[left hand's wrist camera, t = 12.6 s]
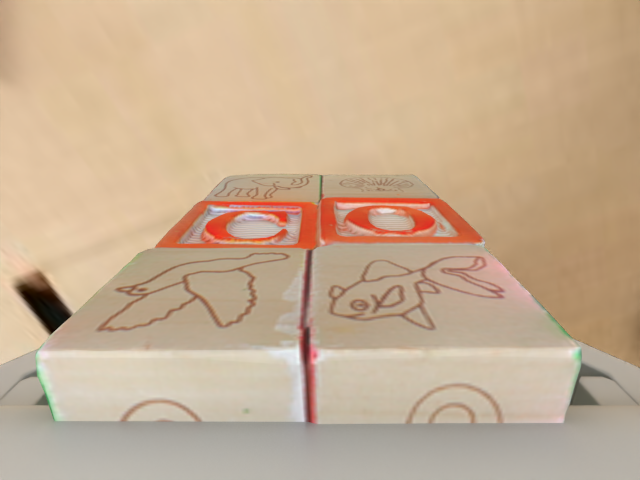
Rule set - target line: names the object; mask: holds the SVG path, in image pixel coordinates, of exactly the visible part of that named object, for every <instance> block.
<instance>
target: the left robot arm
mask: <svg viewBox="0 0 640 480" xmlns="http://www.w3.org/2000/svg"><path fill="white" fill-rule="evenodd" d="M574 340H575V339H574ZM575 341H576V342H577V343H578V344H579V345H580V346H581V351H582V360H581V368H580V371H579V374H578V377H577V380H576V383H575V387H574V390H573V394H572V397H571V401H570V404H569V407H568V409H567V412H566V414H565V421H564V423H418V424H315V423H310V422H167V421H55V420H54V419H53V416H52V413H51V410H50V407H49V404H48V401H47V398H46V395H45V393H44V390H43V388H42V386H41V383H40V381H39V379H38V376H37V369H36V359H35V356H36V352H37V351H38V349H37V350H34V351H32V352H30V353H27V354H25V355H23V356H20V357H18V358H16V359H13V360H11V361H9V362H6V363H4V364H2V365H0V480H640V368H639V367H637V366H635V365H632V364H630V363H628V362H626V361H623V360H621V359H619V358H616V357H614V356H612V355H610V354H607V353H605V352H603V351H600V350H598V349H596V348H593V347H591V346H589V345H587V344H584V343H582V342H580V341H577V340H575Z"/></svg>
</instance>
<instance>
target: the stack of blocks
mask: <svg viewBox="0 0 640 480" xmlns="http://www.w3.org/2000/svg"><path fill="white" fill-rule="evenodd" d="M484 245H485V240H484V239H483V238H482V237H481V236H480V235H479V234H478V233H477V232H476V231H475V230H474V229H473V228H472V227H471V226H470V225H469V224H468V223H467V222H466V221H465V220H464V219H463V218H462V217H461V216H460V215H459V214H458V213H456V212H455V211H454V210H453V209H452V208H451V207H450V206H449V205H448V204H447V203H446V202H445V201H443V200H441V199H439V197H438V196H437V195H436V194H435V193H434V192H433V191H431V190H430V189H429V188H428V187H427V186H426V185H425V184H424V183H423V182H422V181H421V180H419V179H418V178H417V177H416V176H414V175H323V176H322V175H314V174H254V175H235V176H229V177H226V178H225V179H223V180H222V181H221V182H220V183H219V184H218V185H217V186H216V187H215V188H214V189H213V190H212V192H211V193H210V194H209V195H208V196H207V197H206V198H205V199H204V200H203V201H201V202H199V203H197V204H196V205H194V207H193V208H192V209H191V210H190V211H189V212H188V213H187V214H186V215H185V216H184V217H183V218H182V219H181V220H180V221H179V222H178V223H177V224H176V225H175V226H174V227H173V228H172V229H171V230H169V232H168V233H167V234H166V235H165V236H164V237H163V238H162V239H161V241H160V242H159V243H158V244H157V245H156V247H155V248H154V249H148V250H145V251H143V252H141V253H138V254H137V255H136V256H135V257H134V259H133V260H132V261H131V262H129V263H128V264H127V265H126V266H125V267H124V268H123V269H122V270H121V271H120V272H119V273H118V274H117V275H116V276H114V277H113V278H112V279H111V280H110V281H109V282H108V283H107V284H105V285H104V286H103V287H102V288H101V289H100V290H99V291H98V292H97V293H96V294H95V295H94V296H93V297H92V298H90V299H89V300H88V301H87V302H86V303H85V304H84V305H83V306H82V307H81V308H80V309H79V310H78V311H77V312H76V313H74V314H73V315H72V316H71V317H70V318H69V319H68V320H67V321H66V322H65V323H64V324H62V325H61V326H60V327H59V328H58V329H57V330H56V331H55V332H54V333H53V334H51V335H50V336H49V337H48V339H47V340H46V341H45V342H44V343H43V345H42V346H41V347H40V348H39V349H38V351H37V352H36V356H35V359H36V369H37V376H38V379H39V381H40V383H41V386H42V388H43V390H44V393H45V395H46V398H47V401H48V404H49V407H50V410H51V413H52V416H53V419H54V420H55V421H167V422H310V423H315V424H418V423H564V421H565V414H566V412H567V409H568V407H569V404H570V401H571V397H572V394H573V390H574V387H575V383H576V380H577V377H578V374H579V371H580V368H581V360H582V351H581V346H580V345H579V344H578V343H577V342H576V341H575V340H574V339H573V338H572V337H571V336H570V335H569V334H568V333H567V332H566V331H565V330H564V329H563V328H562V327H561V326H560V324H559V323H558V322H557V321H556V320H555V319H554V318H553V317H552V316H551V315H550V314H549V312H548V311H547V310H546V309H545V308H544V307H543V306H542V305H541V304H540V303H539V302H538V301H537V300H536V299H535V298H534V297H533V296H532V295H531V294H530V293H529V292H528V291H527V290H526V289H525V288H524V287H523V286H522V285H521V284H520V283H519V282H518V281H517V280H516V279H515V278H514V277H513V276H512V275H511V274H510V273H509V272H508V270H507V269H506V268H505V267H504V266H503V265H502V264H501V263H500V262H499V261H498V260H497V259H496V258H495V257H494V256H493V255H491V254H490V253H489V251H488V250H487V249H486V248H484Z"/></svg>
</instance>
